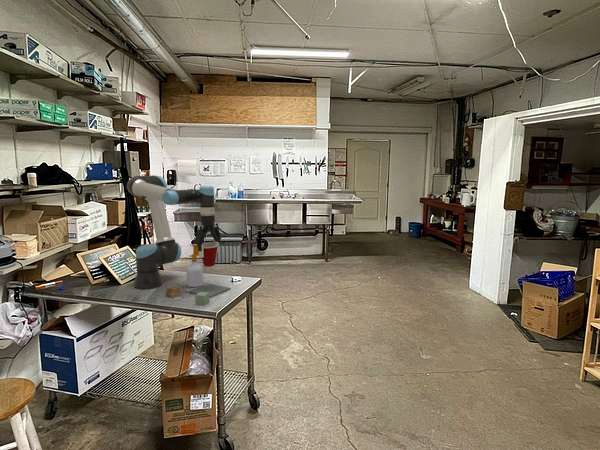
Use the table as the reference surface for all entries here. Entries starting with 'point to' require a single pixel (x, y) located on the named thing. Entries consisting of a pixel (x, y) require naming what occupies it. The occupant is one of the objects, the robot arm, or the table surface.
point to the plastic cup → (209, 253)
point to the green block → (202, 298)
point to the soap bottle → (194, 270)
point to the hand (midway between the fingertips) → (208, 254)
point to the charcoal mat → (210, 290)
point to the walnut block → (173, 291)
